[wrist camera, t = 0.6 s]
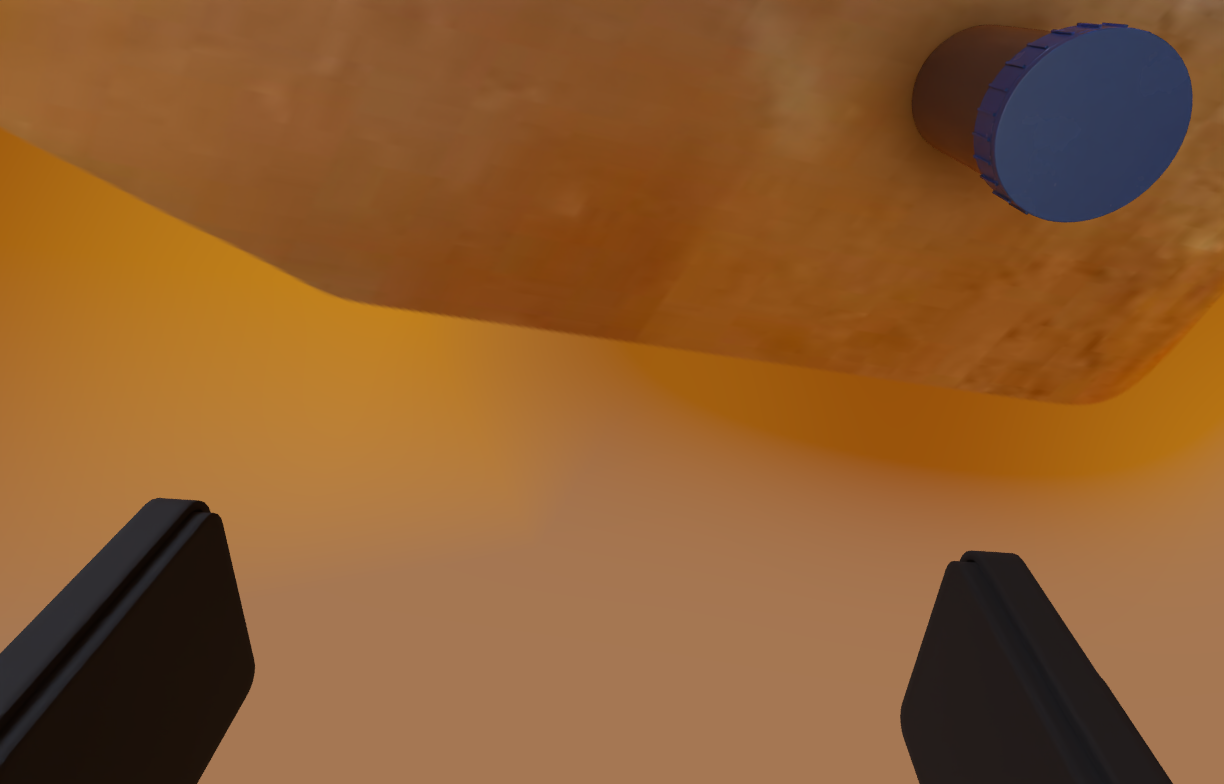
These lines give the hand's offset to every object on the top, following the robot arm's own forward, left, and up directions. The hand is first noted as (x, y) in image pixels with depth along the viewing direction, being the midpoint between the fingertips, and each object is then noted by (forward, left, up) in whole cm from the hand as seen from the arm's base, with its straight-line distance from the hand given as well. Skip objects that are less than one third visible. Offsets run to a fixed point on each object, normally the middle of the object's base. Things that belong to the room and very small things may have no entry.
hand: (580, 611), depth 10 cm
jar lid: (-7, +15, -21) cm, 27 cm away
